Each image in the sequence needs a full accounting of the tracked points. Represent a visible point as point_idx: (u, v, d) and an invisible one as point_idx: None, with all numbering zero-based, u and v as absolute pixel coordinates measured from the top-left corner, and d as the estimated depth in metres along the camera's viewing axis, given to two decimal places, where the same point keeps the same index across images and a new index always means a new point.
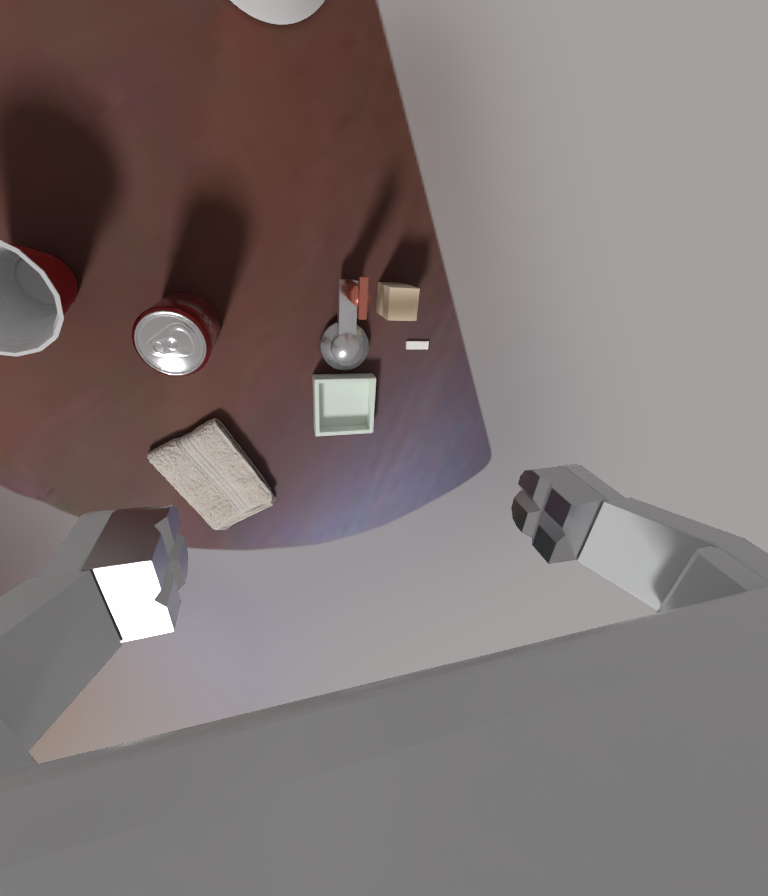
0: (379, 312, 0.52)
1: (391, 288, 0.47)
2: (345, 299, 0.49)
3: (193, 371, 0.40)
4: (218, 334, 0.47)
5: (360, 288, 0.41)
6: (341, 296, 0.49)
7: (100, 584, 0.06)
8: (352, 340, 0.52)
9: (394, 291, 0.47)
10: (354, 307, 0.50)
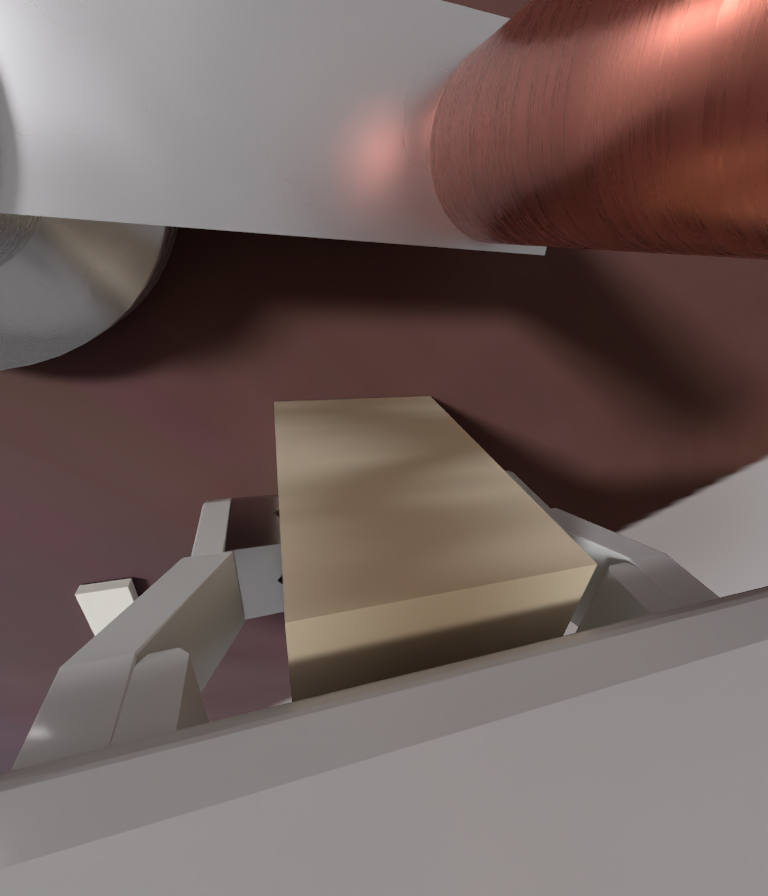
0: (287, 434, 0.07)
1: (584, 576, 0.05)
2: (416, 94, 0.04)
3: None
4: None
5: None
6: (450, 38, 0.04)
7: (238, 564, 0.06)
8: None
9: (555, 600, 0.05)
10: (335, 208, 0.05)
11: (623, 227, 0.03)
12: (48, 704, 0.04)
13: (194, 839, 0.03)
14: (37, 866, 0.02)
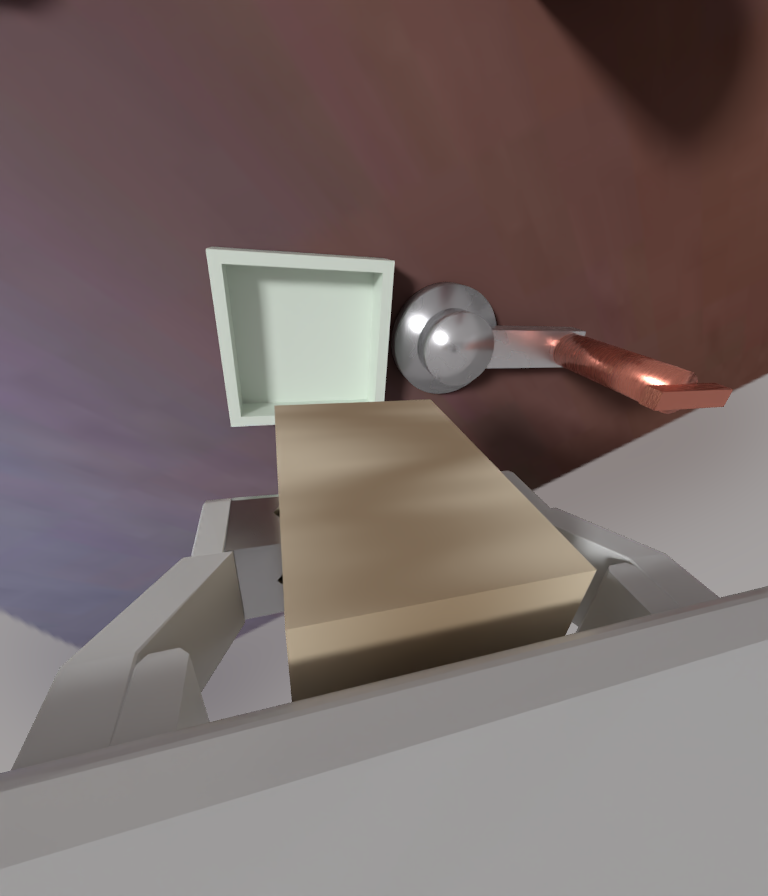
0: (287, 438, 0.08)
1: (584, 582, 0.05)
2: (552, 343, 0.24)
3: None
4: None
5: (713, 391, 0.18)
6: (559, 335, 0.24)
7: (238, 564, 0.06)
8: (479, 361, 0.23)
9: (554, 606, 0.05)
10: (534, 362, 0.25)
11: (588, 378, 0.23)
12: (48, 704, 0.04)
13: (194, 839, 0.03)
14: (37, 866, 0.02)
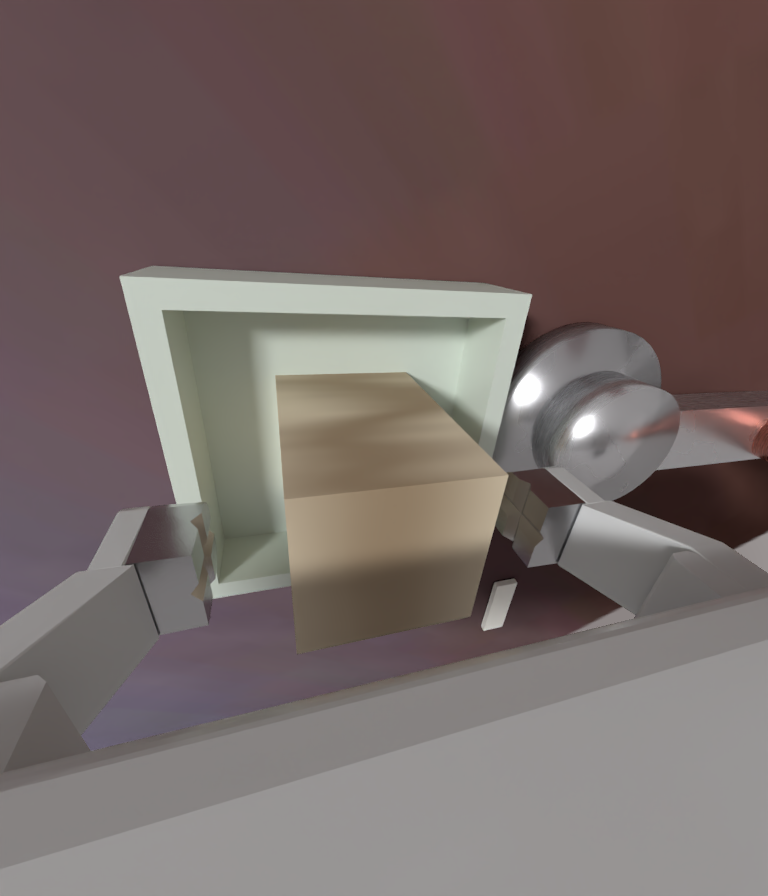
0: (286, 397, 0.09)
1: (500, 485, 0.07)
2: (757, 425, 0.14)
3: None
4: None
5: None
6: None
7: (142, 578, 0.06)
8: (646, 464, 0.13)
9: (480, 503, 0.07)
10: (722, 455, 0.15)
11: None
12: None
13: (194, 839, 0.03)
14: (37, 866, 0.02)
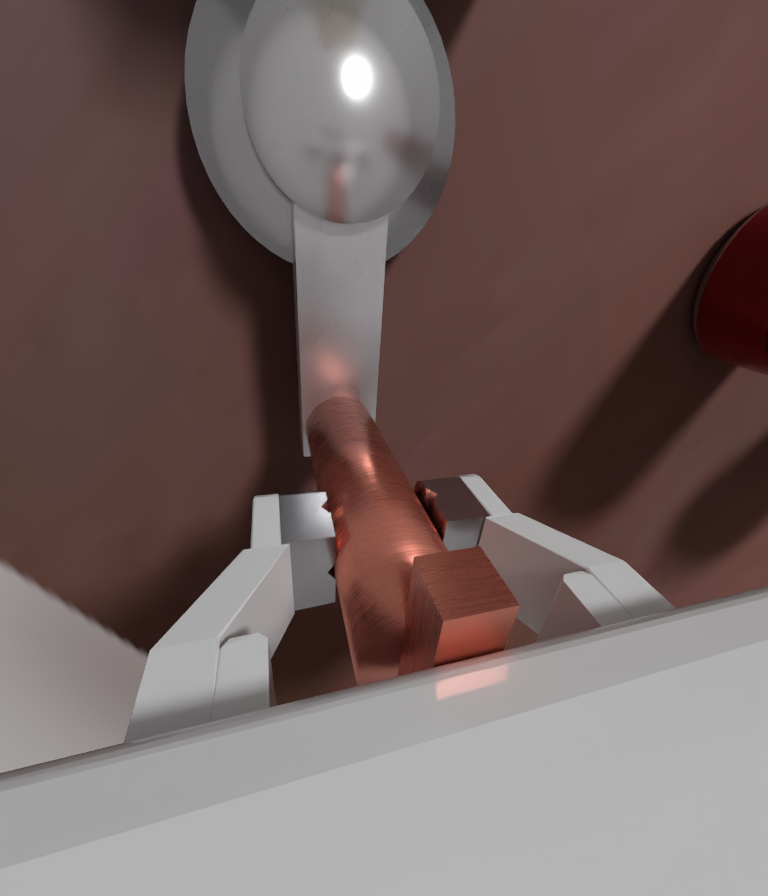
0: None
1: None
2: (352, 389, 0.12)
3: None
4: None
5: None
6: (368, 398, 0.12)
7: (293, 556, 0.07)
8: (317, 180, 0.09)
9: None
10: (311, 359, 0.11)
11: (321, 462, 0.09)
12: (146, 683, 0.04)
13: (194, 839, 0.03)
14: (37, 866, 0.02)
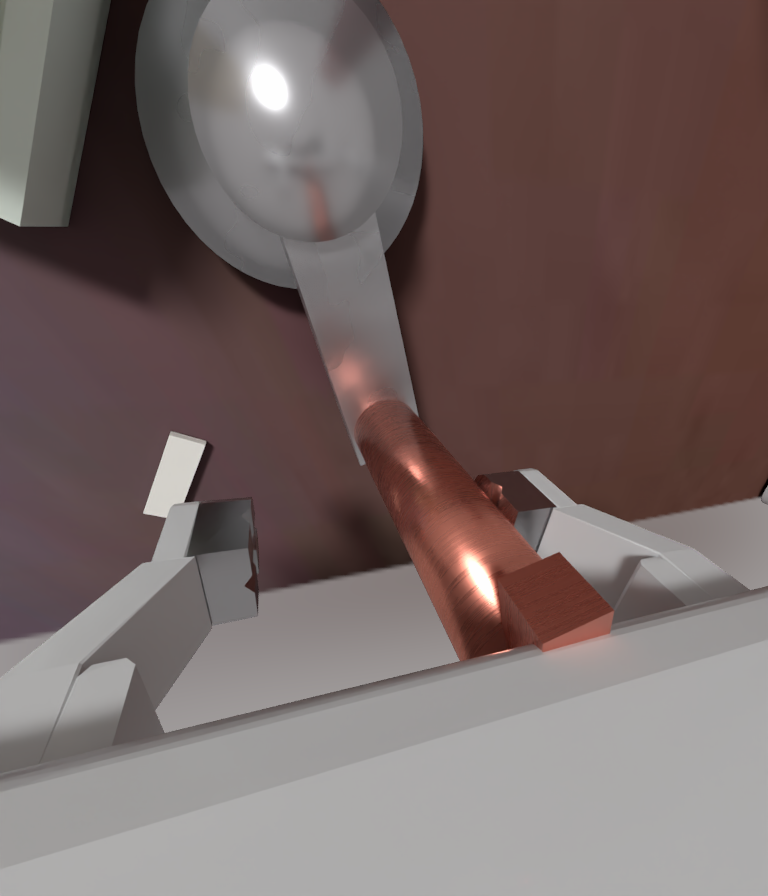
0: None
1: None
2: (387, 390, 0.12)
3: None
4: None
5: None
6: (405, 395, 0.12)
7: (201, 570, 0.06)
8: (298, 208, 0.09)
9: None
10: (342, 376, 0.11)
11: (380, 476, 0.10)
12: None
13: (194, 839, 0.03)
14: (37, 866, 0.02)
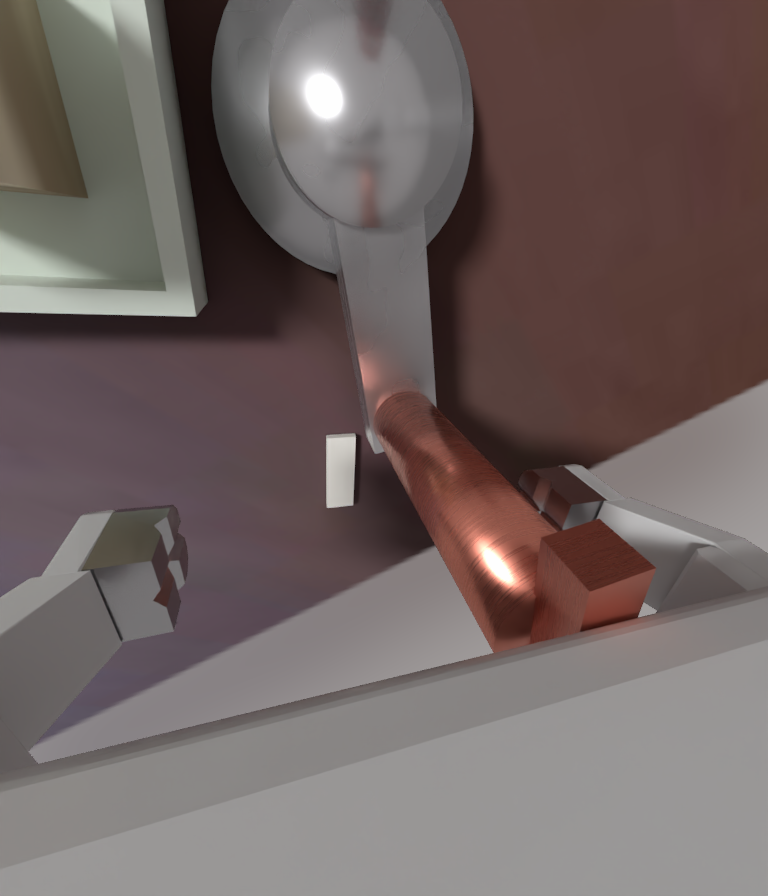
0: None
1: None
2: (411, 382, 0.12)
3: None
4: None
5: None
6: (427, 388, 0.12)
7: (100, 584, 0.06)
8: (354, 192, 0.09)
9: None
10: (370, 361, 0.11)
11: (402, 458, 0.10)
12: None
13: (194, 839, 0.03)
14: (37, 866, 0.02)
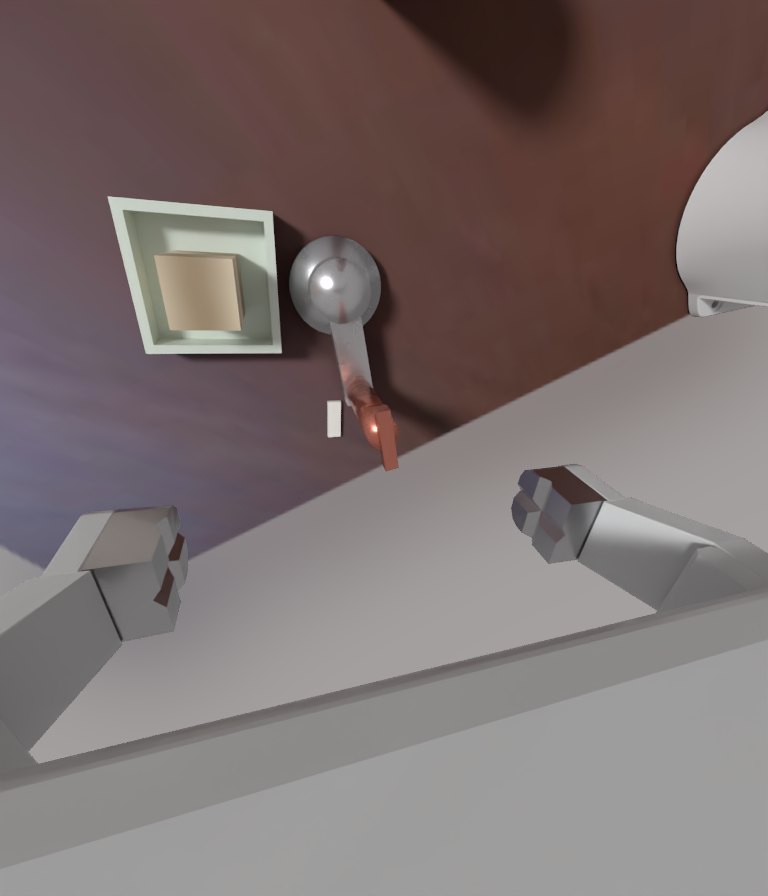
0: (174, 251, 0.24)
1: (230, 263, 0.21)
2: (361, 376, 0.31)
3: None
4: None
5: (395, 453, 0.25)
6: (368, 378, 0.31)
7: (100, 584, 0.06)
8: (336, 313, 0.28)
9: (225, 270, 0.22)
10: (344, 368, 0.30)
11: (354, 402, 0.29)
12: None
13: (194, 839, 0.03)
14: (37, 866, 0.02)
